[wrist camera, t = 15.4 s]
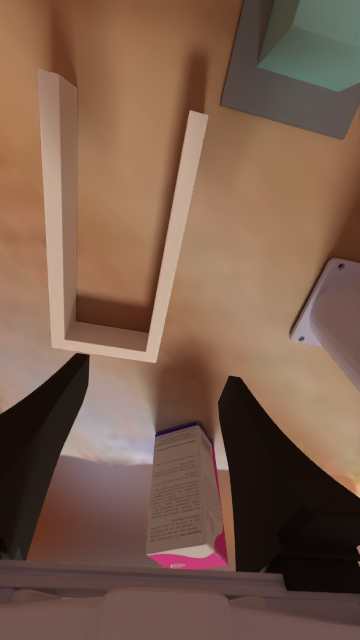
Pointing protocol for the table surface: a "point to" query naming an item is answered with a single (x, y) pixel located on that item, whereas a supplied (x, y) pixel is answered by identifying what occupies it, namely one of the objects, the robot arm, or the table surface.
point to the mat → (281, 84)
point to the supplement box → (185, 501)
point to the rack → (62, 227)
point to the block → (314, 42)
